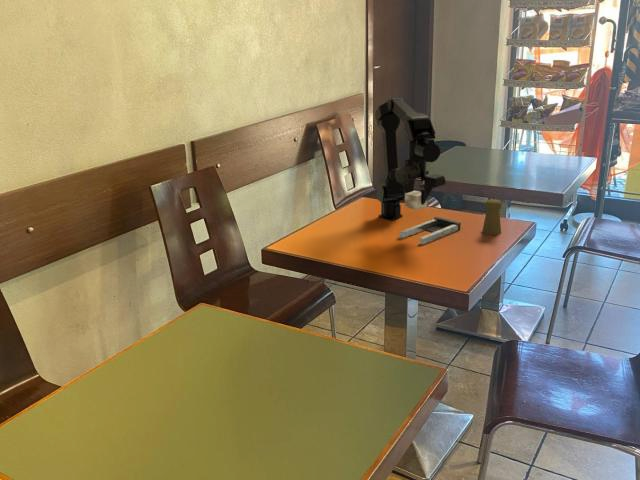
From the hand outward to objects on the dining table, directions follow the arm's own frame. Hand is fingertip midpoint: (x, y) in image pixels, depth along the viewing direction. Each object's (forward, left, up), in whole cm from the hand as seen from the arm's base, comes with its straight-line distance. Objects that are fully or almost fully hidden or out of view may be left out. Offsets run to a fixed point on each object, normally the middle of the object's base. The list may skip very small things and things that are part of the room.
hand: (416, 202), depth 202 cm
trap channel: (+2, +5, -12) cm, 13 cm away
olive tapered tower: (+16, +20, -12) cm, 28 cm away
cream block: (0, 0, -1) cm, 1 cm away
